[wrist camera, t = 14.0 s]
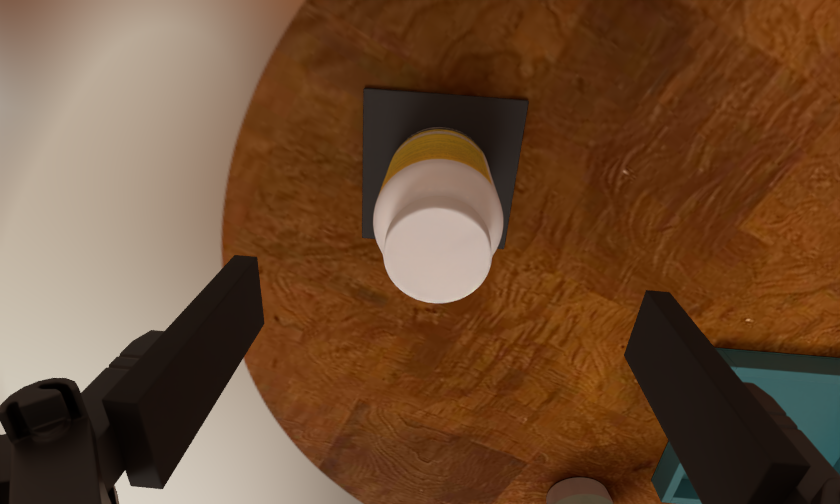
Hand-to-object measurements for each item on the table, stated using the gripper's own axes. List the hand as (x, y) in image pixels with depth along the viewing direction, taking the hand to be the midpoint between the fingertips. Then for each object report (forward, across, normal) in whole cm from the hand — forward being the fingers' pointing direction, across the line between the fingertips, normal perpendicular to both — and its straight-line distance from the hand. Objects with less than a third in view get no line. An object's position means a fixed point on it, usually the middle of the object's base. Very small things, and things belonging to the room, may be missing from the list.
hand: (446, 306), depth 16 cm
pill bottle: (+16, 0, 0) cm, 16 cm away
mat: (+16, -1, 0) cm, 16 cm away
